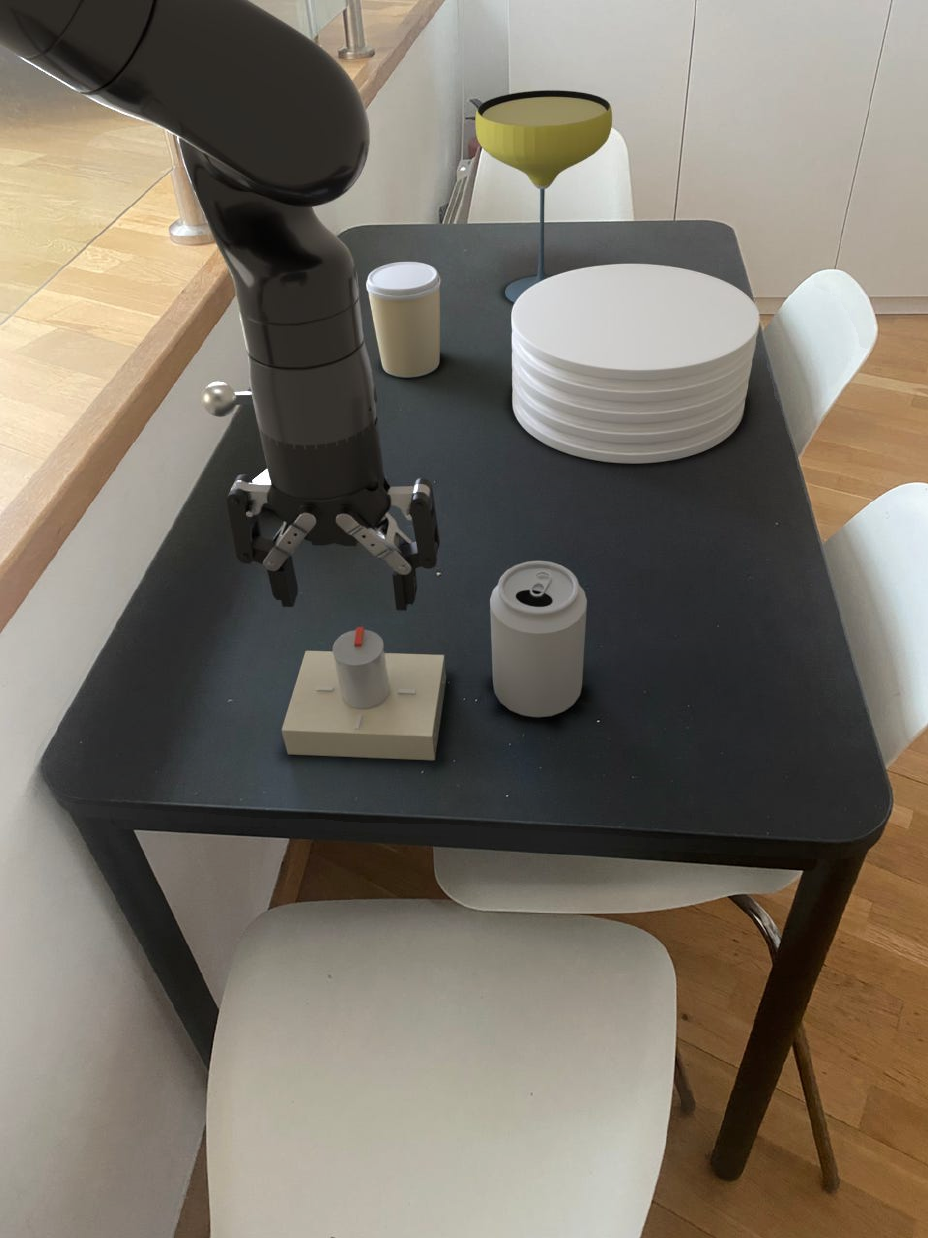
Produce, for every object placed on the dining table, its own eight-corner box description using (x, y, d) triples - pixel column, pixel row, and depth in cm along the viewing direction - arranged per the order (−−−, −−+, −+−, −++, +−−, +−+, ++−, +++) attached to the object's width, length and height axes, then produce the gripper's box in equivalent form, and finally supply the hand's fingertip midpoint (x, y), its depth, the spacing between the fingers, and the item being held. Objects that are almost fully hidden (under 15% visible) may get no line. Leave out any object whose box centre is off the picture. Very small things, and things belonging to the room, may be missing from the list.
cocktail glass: (457, 290, 140) (447, 107, 123) (548, 258, 147) (551, 82, 130) (533, 330, 129) (534, 135, 112) (627, 293, 136) (642, 106, 119)
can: (480, 710, 77) (474, 603, 69) (510, 651, 82) (509, 545, 74) (566, 734, 75) (571, 626, 66) (592, 671, 80) (599, 564, 71)
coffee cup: (449, 347, 126) (444, 260, 118) (441, 380, 119) (435, 290, 111) (382, 347, 127) (372, 260, 119) (370, 380, 120) (359, 290, 112)
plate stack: (656, 493, 99) (668, 397, 91) (465, 410, 113) (461, 321, 105) (786, 391, 113) (805, 301, 105) (602, 329, 128) (607, 246, 120)
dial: (387, 708, 73) (380, 662, 70) (338, 709, 74) (328, 662, 70) (391, 672, 76) (385, 626, 73) (344, 673, 76) (335, 626, 73)
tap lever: (219, 420, 86) (221, 386, 84) (193, 413, 87) (195, 378, 86) (305, 414, 97) (308, 383, 95) (281, 407, 98) (284, 377, 97)
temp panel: (287, 754, 74) (280, 729, 72) (311, 674, 81) (305, 648, 79) (434, 760, 73) (432, 735, 71) (446, 679, 80) (444, 653, 78)
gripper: (188, 439, 56) (241, 633, 67) (421, 442, 55) (436, 640, 65) (222, 379, 61) (266, 567, 72) (435, 381, 60) (446, 572, 71)
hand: (347, 602), depth 69 cm, fingers open, 8 cm apart
